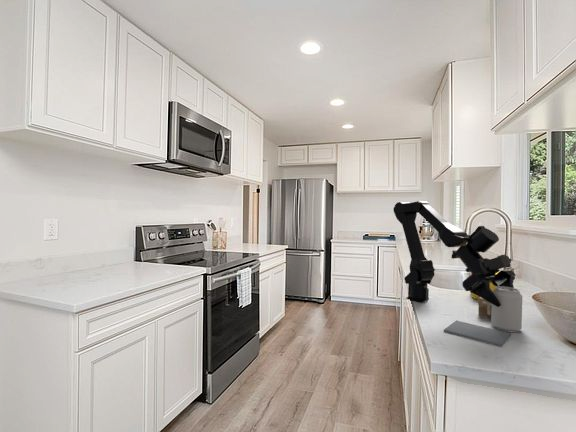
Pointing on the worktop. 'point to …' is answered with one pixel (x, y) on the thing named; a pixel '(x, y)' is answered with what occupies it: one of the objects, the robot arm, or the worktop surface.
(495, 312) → the can
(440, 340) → the worktop surface
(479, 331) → the mat
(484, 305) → the marked block
